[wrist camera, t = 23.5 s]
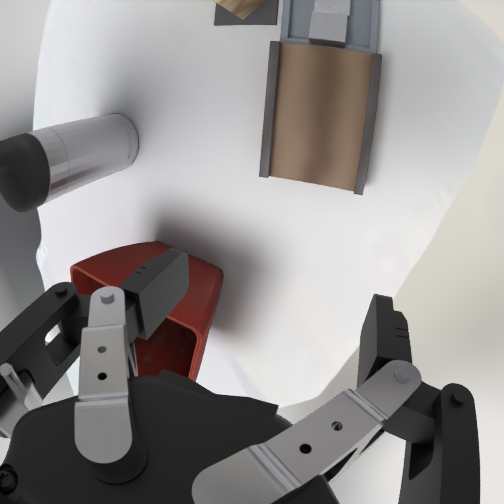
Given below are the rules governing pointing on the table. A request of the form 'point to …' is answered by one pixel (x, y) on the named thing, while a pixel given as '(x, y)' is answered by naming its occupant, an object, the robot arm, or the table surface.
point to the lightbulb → (52, 334)
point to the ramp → (319, 115)
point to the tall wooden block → (241, 6)
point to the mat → (259, 17)
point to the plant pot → (179, 319)
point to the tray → (358, 27)
